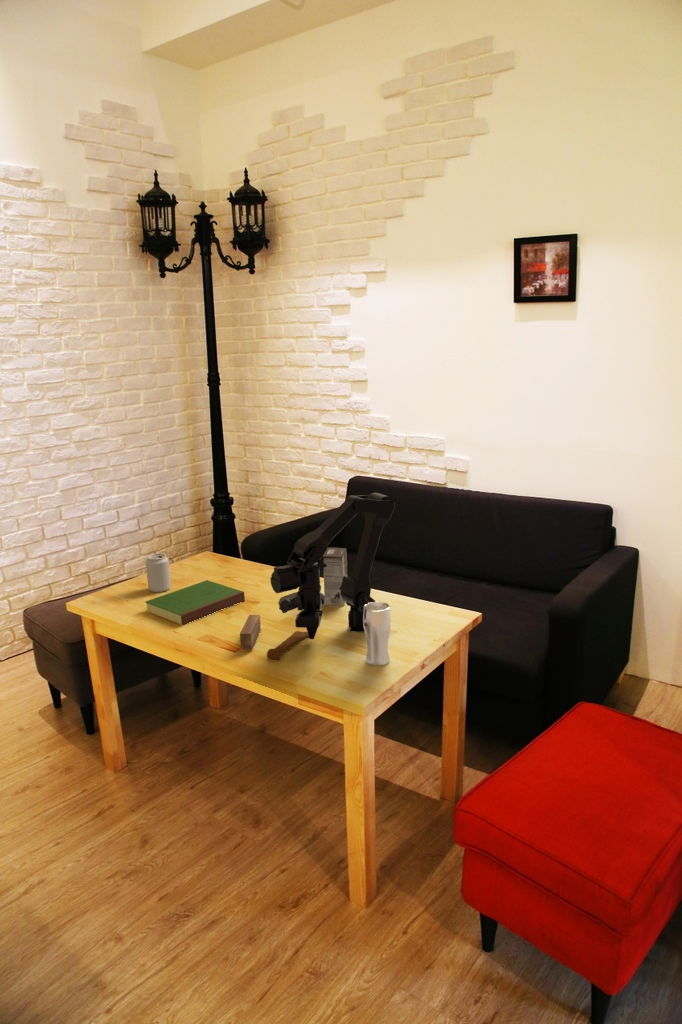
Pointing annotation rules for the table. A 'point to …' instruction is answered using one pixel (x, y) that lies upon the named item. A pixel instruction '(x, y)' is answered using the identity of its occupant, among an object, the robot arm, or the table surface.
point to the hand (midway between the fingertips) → (311, 638)
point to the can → (158, 572)
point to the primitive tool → (287, 645)
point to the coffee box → (334, 575)
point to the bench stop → (250, 632)
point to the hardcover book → (194, 602)
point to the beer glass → (377, 632)
